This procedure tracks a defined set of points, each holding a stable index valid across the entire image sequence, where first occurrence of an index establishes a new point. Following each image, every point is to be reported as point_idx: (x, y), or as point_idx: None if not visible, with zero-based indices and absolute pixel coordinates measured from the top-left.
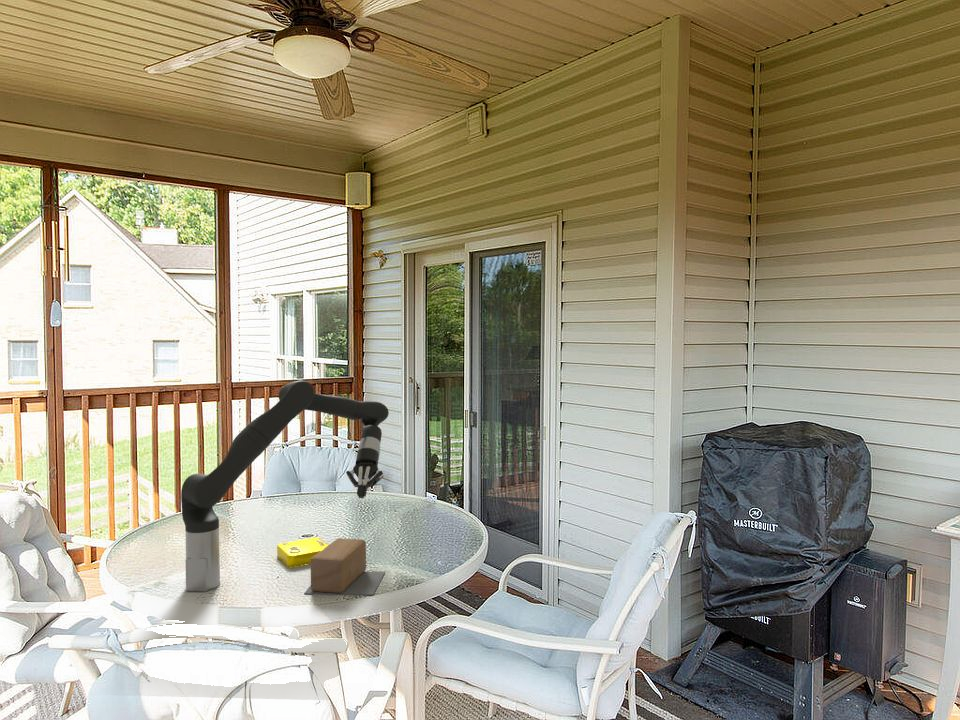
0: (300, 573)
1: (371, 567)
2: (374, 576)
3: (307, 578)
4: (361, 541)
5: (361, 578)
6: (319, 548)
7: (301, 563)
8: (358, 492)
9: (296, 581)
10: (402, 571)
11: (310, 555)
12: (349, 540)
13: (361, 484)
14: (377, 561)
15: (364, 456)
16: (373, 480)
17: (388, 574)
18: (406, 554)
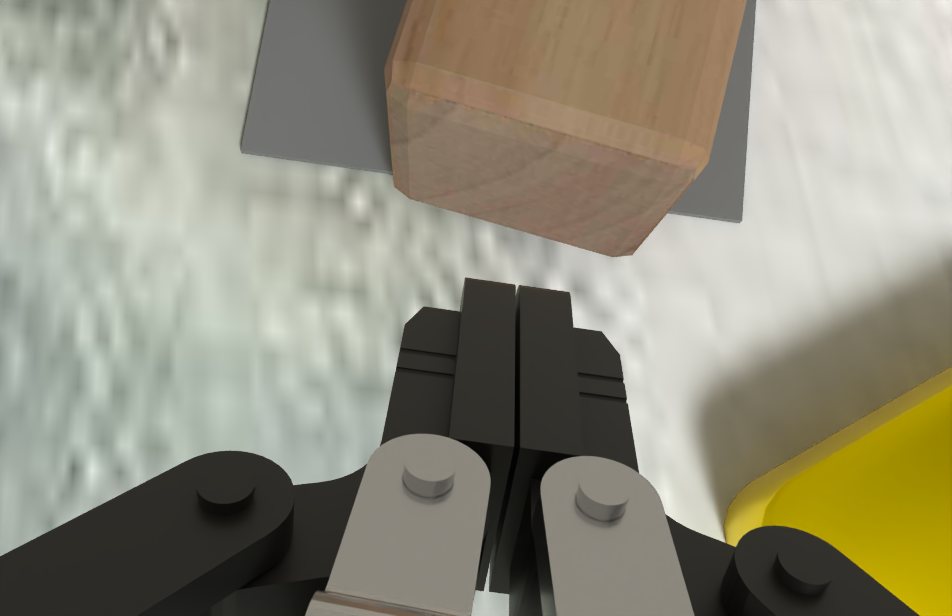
0: (894, 209)
1: (356, 284)
2: (320, 63)
3: (815, 104)
4: (425, 13)
5: None
6: (874, 508)
7: (947, 371)
8: (582, 360)
9: (877, 57)
10: (99, 169)
11: (913, 403)
12: (557, 50)
13: (542, 484)
14: (311, 428)
15: None
16: (94, 532)
17: (214, 118)
18: None
